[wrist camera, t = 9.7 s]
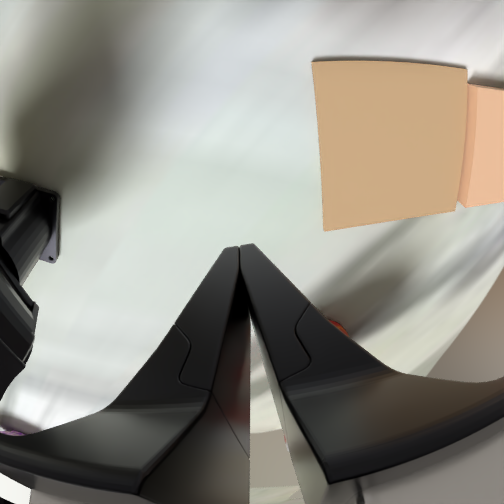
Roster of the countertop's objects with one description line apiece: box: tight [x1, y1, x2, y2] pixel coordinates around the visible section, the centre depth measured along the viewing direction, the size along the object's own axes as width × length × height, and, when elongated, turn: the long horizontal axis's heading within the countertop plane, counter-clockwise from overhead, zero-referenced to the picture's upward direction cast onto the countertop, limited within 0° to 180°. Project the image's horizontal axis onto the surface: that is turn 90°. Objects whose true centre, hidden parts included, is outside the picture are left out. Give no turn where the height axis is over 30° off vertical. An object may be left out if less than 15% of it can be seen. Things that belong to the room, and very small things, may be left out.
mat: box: [311, 61, 467, 231], centre depth 19 cm, size 12×12×1 cm
